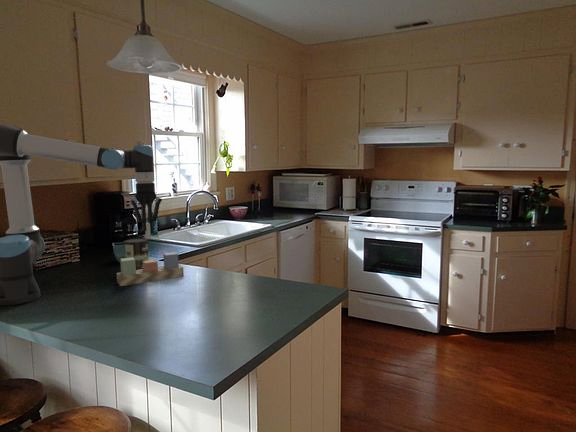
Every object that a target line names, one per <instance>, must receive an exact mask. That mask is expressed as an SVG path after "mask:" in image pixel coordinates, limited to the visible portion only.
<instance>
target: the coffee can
mask: <svg viewBox="0 0 576 432" xmlns="http://www.w3.org/2000/svg"><path fill="white" fill-rule="evenodd" d="M148 241H149V239H147V238H130V239H127V240H126V239H125V240H124V241H123V242H124V243H125V254H126V258H131V257H133V258H134V259H135V264H136V270H141V269H143V261H146V260H150V259H149V242H148Z"/></svg>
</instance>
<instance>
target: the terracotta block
mask: <svg viewBox="0 0 576 432" xmlns="http://www.w3.org/2000/svg"><path fill="white" fill-rule="evenodd" d="M158 267H159V266H158V260H156V259H149V260H146V261H143V271H144V272H152V271H158Z"/></svg>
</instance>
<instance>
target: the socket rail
mask: <svg viewBox="0 0 576 432" xmlns="http://www.w3.org/2000/svg"><path fill="white" fill-rule="evenodd" d="M184 275H185V274H184V267H183V266H182V265H180V264H179V268H172V269H166V268H164V265H163V266H158V271H152V272H144V271H143V269H141V270H136V274H132V275H125V276H123V275H122V274H121V271H120V272H116V282H117V284H118V285H119V287H124V286H129V285H130V286H131V285H136V284H137V285H138V284H143V283H144V284H145V283H149V282H155V281H161V280H162V281H163V280H167V279H168V280H169V279H174V278H182V277H184Z"/></svg>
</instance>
